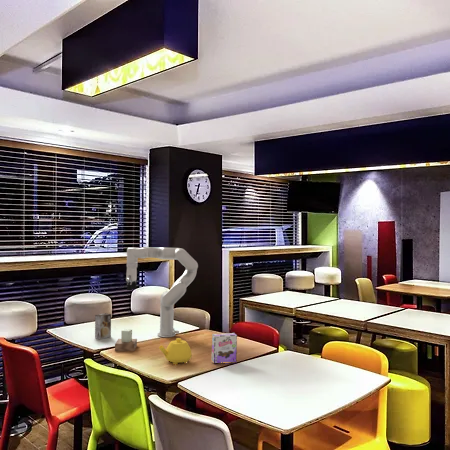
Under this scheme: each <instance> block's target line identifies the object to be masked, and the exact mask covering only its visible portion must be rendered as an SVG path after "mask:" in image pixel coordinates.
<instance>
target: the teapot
mask: <svg viewBox="0 0 450 450" xmlns="http://www.w3.org/2000/svg"><path fill="white" fill-rule="evenodd" d="M158 349H159V351H160V352H161V353H162V354H163V355H164V357H165V359H166V360H167V361H170V362H169V363H172V365H173V364H179V363H183V362H184V363H186V362H188V361H190V359H191V358H192V356H193V355H192V353H193V351H192V349H191V347H190V345H189V343H188V342H187V341H186V340H184V339H182V338H179V337H177V338H175V340H171V341H170V342H169V343H168V345H167V347H166V348H165V347H164V345H160V346H159V347H158ZM184 363H183V364H184Z"/></svg>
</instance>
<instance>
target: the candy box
mask: <svg viewBox="0 0 450 450" xmlns="http://www.w3.org/2000/svg"><path fill="white" fill-rule="evenodd" d="M211 336H212V337H211V359H210V360H212V361H213V362H214V363H221V362H222V363H223V362H236V363H237V355H238V354H237V353H238V351H237V346H238V335H237V334H236V333H235V332H232V333H230V332H229V333H212V334H211ZM212 361H211V362H212ZM213 362H212V363H213Z"/></svg>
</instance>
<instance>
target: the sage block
mask: <svg viewBox="0 0 450 450" xmlns="http://www.w3.org/2000/svg"><path fill="white" fill-rule="evenodd" d="M120 339H121V342H130V341H132V339H133V329H128V328H124V329H122V330H121V338H120Z"/></svg>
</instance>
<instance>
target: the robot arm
mask: <svg viewBox="0 0 450 450" xmlns="http://www.w3.org/2000/svg"><path fill="white" fill-rule="evenodd" d="M147 258H148V259H149V258H154V259H159V260H174V261H175V260H176V261H178V262H179V263H180V264H181V265H182V266H184V268H185V270H184V272H183V274H182V275H181V276H180V277H179V278H177V280H176V281H175V282H173V283H172V285H171V288H170V289H169V290H166V291H163V292H162V293H161V295H160V301H159V303H160V305H159V307H160V311H159V312H160V314H159V315H160V316H159V332H158V333H157V336H158V337H159V338H172V337H175V336H176V334H177V335H179V334H180V331H179V330H175V328H174V317H175V316H174V315H175V314H174V313H175V310H174V309H175V308H174V307H175V306H174V305H175V304H176V303H177V302H178V301H179V300H180V299H181V298H182V297H183V296H184V295H185V293H186V292H187V287H188V286H190V284H191V283H192V282H193V281H194V280H195V278H196V276H197V271H198V268H199V264H198V262H197V260H195V259H194V258H193V256H191V255H190V254H189V252H187V250H185V249H184V248H180V247H151V246H150V247H148V246H147V247H145V246H143V247H140V248H137V247H128V248H127V249H126V273H125V275H126V277H125V281H126V291H132V290H133V289H135V290H136V289H137V274H138V271H137V268H138V265H139V264H138V259H147Z"/></svg>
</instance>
